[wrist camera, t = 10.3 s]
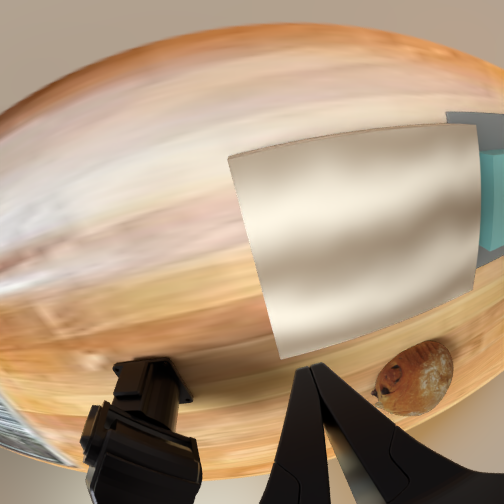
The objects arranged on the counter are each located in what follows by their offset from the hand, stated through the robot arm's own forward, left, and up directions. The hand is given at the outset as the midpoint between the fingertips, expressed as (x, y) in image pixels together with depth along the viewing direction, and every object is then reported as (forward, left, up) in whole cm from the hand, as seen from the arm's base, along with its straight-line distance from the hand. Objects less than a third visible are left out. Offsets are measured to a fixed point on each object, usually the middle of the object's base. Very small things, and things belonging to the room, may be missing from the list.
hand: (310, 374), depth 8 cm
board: (-1, -8, -13) cm, 15 cm away
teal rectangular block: (-1, -23, -10) cm, 26 cm away
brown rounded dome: (-21, -13, -13) cm, 28 cm away
